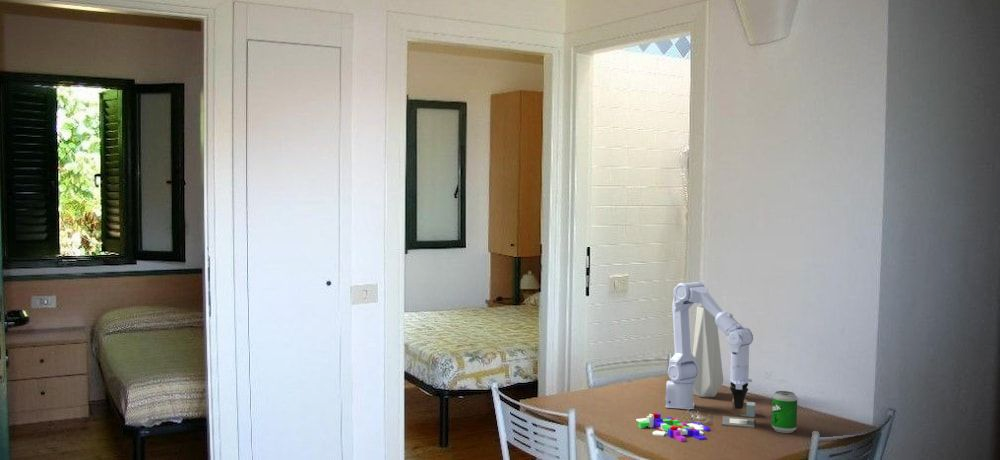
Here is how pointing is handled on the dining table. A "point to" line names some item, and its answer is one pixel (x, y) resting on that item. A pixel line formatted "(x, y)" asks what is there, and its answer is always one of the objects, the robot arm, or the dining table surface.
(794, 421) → the soda can
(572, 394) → the dining table surface
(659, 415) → the building block set
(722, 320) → the robot arm
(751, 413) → the pale grey cube
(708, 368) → the vase
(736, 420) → the grey flat square plate
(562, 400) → the dining table surface
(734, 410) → the walnut block
